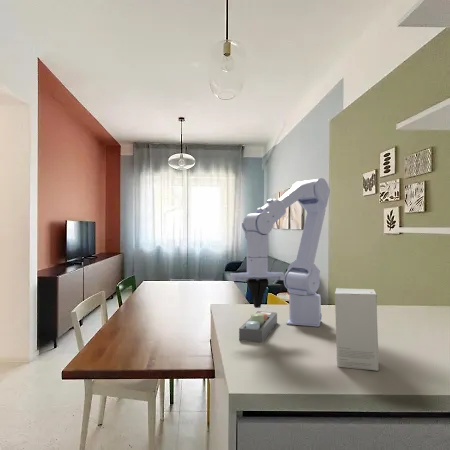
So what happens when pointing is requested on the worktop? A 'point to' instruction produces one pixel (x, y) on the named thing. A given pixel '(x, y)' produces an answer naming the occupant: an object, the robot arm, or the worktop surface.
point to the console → (262, 332)
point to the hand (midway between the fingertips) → (257, 306)
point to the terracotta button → (264, 316)
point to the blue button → (253, 325)
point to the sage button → (258, 318)
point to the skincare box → (356, 328)
